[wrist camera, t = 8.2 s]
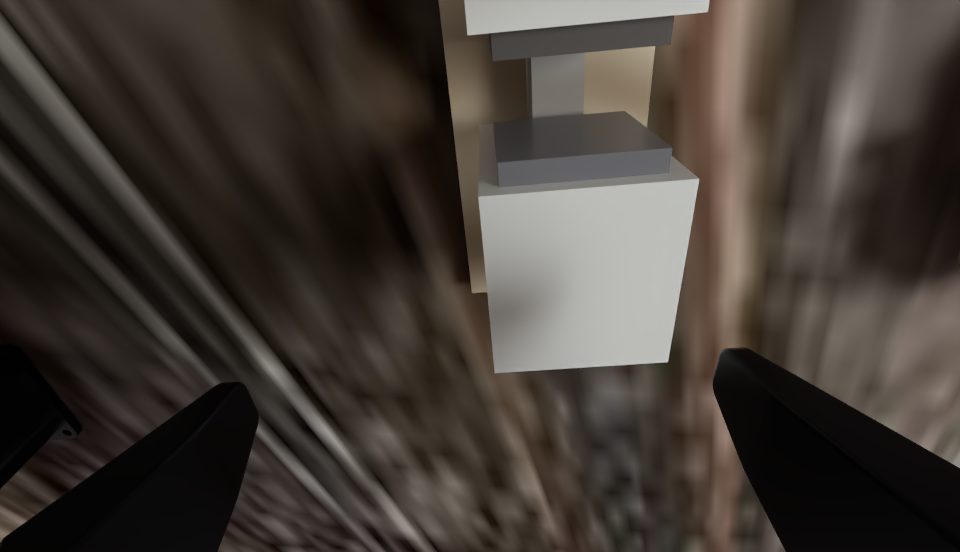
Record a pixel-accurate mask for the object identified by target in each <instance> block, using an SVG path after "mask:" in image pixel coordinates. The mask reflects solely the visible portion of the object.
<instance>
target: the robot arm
mask: <svg viewBox="0 0 960 552" xmlns="http://www.w3.org/2000/svg"><path fill="white" fill-rule="evenodd" d="M713 390H714V394H715V397H716V399H717V402H718V405H719V407H720V410H721V412H722V415H723V417H724V420H725V423H726V425H727V428H728V430H729V433H730V436H731V438H732V441H733V443H734V446H735V448H736V451H737V454H738V456H739V459H740V461H741V463H742V466H743V468H744V471H745V473H746V475H747V477H748V479H749V481H750V483H751V485H752V487H753V489H754V491H755V493H756V495H757V496H758V498H759V500H760V502H761V504H762V506H763V508H764V510H765V512H766V514H767V516H768V518H769V520H770V522H771V524H772V526H773V528H774V529H775V531H776V533H777V535H778V537H779V539H780V541H781V543H782V545H783V547H784V549H785V551H786V552H960V468H958V467H957V466H955V465H953V464H951V463H950V462H948V461H946V460H944V459H943V458H941V457H939V456H937V455H935V454H934V453H932V452H930V451H928V450H927V449H925V448H923V447H921V446H920V445H918V444H916V443H914V442H913V441H911V440H909V439H907V438H906V437H904V436H902V435H900V434H898V433H897V432H895V431H893V430H891V429H890V428H888V427H886V426H884V425H883V424H881V423H879V422H877V421H876V420H874V419H872V418H870V417H869V416H867V415H865V414H863V413H861V412H860V411H858V410H856V409H854V408H853V407H851V406H849V405H847V404H846V403H844V402H842V401H840V400H839V399H837V398H835V397H833V396H831V395H830V394H828V393H826V392H824V391H823V390H821V389H819V388H817V387H816V386H814V385H812V384H810V383H809V382H807V381H805V380H803V379H802V378H800V377H798V376H796V375H794V374H793V373H791V372H789V371H787V370H786V369H784V368H782V367H780V366H779V365H777V364H775V363H773V362H772V361H770V360H768V359H766V358H765V357H763V356H761V355H759V354H757V353H756V352H754V351H752V350H750V349H748V348H744V347H741V348H727V349H724V350H722V352H721V353H720V355H719V359H718V363H717V367H716V371H715V375H714V379H713ZM258 420H259V417H258V411H257V409H256V406H255V404H254V402H253V400H252V398H251V396H250V394H249V392H248V389H247V387H246V386H245V385H244V384H243V383H242V382H226V383H220V384H218V385H216V386H215V387H213V388H212V389H210V390H209V391H208V392H206V393H205V394H203V395H202V396H201V397H199V398H198V399H196V400H195V401H194V402H192V403H191V404H190V405H188V406H187V407H185V408H184V409H183V410H181V411H180V412H178V413H177V414H176V415H174V416H173V417H171V418H170V419H169V420H167V421H166V422H164V423H163V424H162V425H160V426H159V427H158V428H156V429H155V430H153V431H152V432H151V433H149V434H148V435H146V436H145V437H144V438H142V439H141V440H139V441H138V442H137V443H135V444H134V445H132V446H131V447H130V448H128V449H127V450H126V451H124V452H123V453H121V454H120V455H119V456H117V457H116V458H114V459H113V460H112V461H110V462H109V463H107V464H106V465H105V466H103V467H102V468H100V469H99V470H98V471H96V472H95V473H94V474H92V475H91V476H89V477H88V478H87V479H85V480H84V481H82V482H81V483H80V484H78V485H77V486H75V487H74V488H73V489H71V490H70V491H68V492H67V493H66V494H64V495H63V496H61V497H60V498H59V499H57V500H56V501H55V502H53V503H52V504H50V505H49V506H48V507H46V508H45V509H43V510H42V511H41V512H39V513H38V514H36V515H35V516H34V517H32V518H31V519H29V520H28V521H27V522H25V523H24V524H23V525H21V526H20V527H18V528H17V529H16V530H14V531H13V532H11V533H10V534H9V535H7V536H6V537H5V538H3V540H2V542H1V543H0V552H217V551H218V549H219V546H220V543H221V541H222V538H223V536H224V533H225V530H226V528H227V525H228V523H229V520H230V517H231V515H232V512H233V509H234V507H235V504H236V501H237V498H238V495H239V491H240V488H241V484H242V481H243V477H244V473H245V470H246V466H247V463H248V459H249V455H250V452H251V448H252V444H253V441H254V437H255V433H256V430H257V426H258ZM81 431H82V428H81V426H80V425H79V424H78V422H77V421H76V420H75V419H74V417H73V416H72V415H71V414H70V412H69V411H68V410H67V409H66V407H65V406H64V405H63V404H62V402H61V401H60V400H59V399H58V397H57V396H56V395H55V394H54V392H53V391H52V390H51V389H50V387H49V386H48V385H47V384H46V382H45V381H44V380H43V379H42V377H41V376H40V375H39V374H38V372H37V371H36V370H35V369H34V367H33V366H32V365H31V364H30V362H29V361H28V360H27V359H26V357H25V356H24V355H23V354H22V353H21V352H20V351H19V350H17V349H16V348H13V347H0V489H1V488H2V487H3V486H4V485H5V484H6V483H7V482H8V481H9V480H10V479H11V478H12V477H13V476H14V475H15V474H16V473H17V471H18V470H19V469H20V468H21V467H22V466H23V465H24V464H25V463H26V462H27V461H28V460H29V459H30V458H31V457H32V456H33V455H34V454H35V453H36V452H37V451H38V450H39V449H40V448H41V447H42V446H43V445H44V444H45V443H46V442H47V441H48V440H58V439H73V438H75V437H77V436H78V434H79V433H80V432H81Z"/></svg>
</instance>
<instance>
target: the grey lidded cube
mask: <svg viewBox="0 0 960 552" xmlns="http://www.w3.org/2000/svg"><path fill="white" fill-rule="evenodd" d="M671 154H672V147H671V146H669V145H668V144H667V143H665V142H664V141H663V140H662V139H660V138H659V137H658V136H657V135H655V134H654V133H653V132H651V131H650V130H649V129H648V128H646V127H645V126H644V125H642V124H641V123H640V122H639V121H637V120H636V119H635V118H634V117H632V116H631V115H630V114H628V113H627V112H626V111H616V112H605V113H594V114H582V115H571V116H560V117H549V118H537V119H526V120H515V121H504V122H493V123H490V124H479V178H478V199H479V209H480V220H481V231H482V241H483V252H484V263H485V273H486V284H487V294H488V305H489V316H490V326H491V337H492V348H493V358H494V369H495V373H504V372H520V371H536V370H551V369H567V368H583V367H598V366H614V365H630V364H645V363H661V362H668V359H669V353H670V347H671V341H672V335H673V330H674V324H675V318H676V312H677V306H678V300H679V294H680V289H681V283H682V277H683V271H684V265H685V259H686V253H687V248H688V242H689V236H690V230H691V224H692V218H693V213H694V207H695V201H696V195H697V189H698V183H699V178H698V177H697V176H695V175H694V174H693V173H692V172H691V171H689V170H688V169H687V168H686V167H684V166H683V165H682V164H681V163H680V162H678V161H677V160H676V159H675V158H674V157H672V156H671Z"/></svg>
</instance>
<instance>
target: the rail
mask: <svg viewBox="0 0 960 552" xmlns="http://www.w3.org/2000/svg"><path fill="white" fill-rule="evenodd" d="M708 7H709V0H439V9H440V18H441V26H442V35H443V44H444V53H445V61H446V70H447V79H448V87H449V96H450V105H451V114H452V122H453V131H454V140H455V149H456V157H457V166H458V175H459V184H460V192H461V201H462V210H463V219H464V227H465V236H466V245H467V253H468V262H469V271H470V280H471V288H472V293H480V292H487V284H486V273H485V263H484V252H483V241H482V231H481V220H480V209H479V199H478V178H479V124H490V123H493V122H504V121H515V120H526V119H537V118H549V117H560V116H571V115H582V114H594V113H605V112H616V111H626V112H627V113H628V114H630V115H631V116H632V117H634V118H635V119H636V120H637V121H639V122H640V123H641V124H642V125H644V126H645V127H646V128H647V120H648V110H649V100H650V91H651V81H652V71H653V62H654V52H655V46H660V45H671V38H672V30H673V22H674V15H683V14H693V13H703V12H708Z"/></svg>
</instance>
